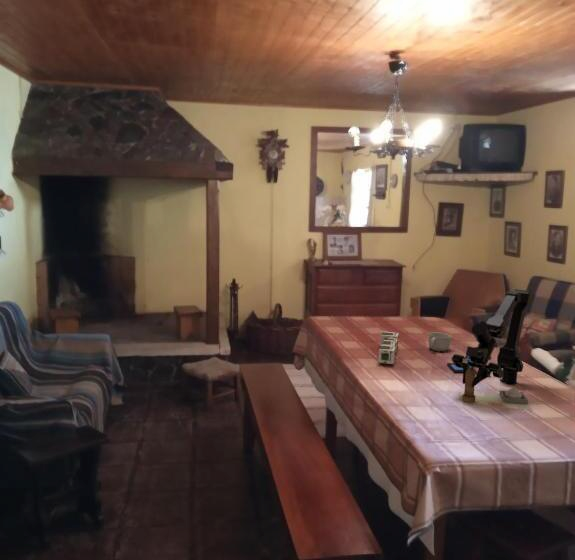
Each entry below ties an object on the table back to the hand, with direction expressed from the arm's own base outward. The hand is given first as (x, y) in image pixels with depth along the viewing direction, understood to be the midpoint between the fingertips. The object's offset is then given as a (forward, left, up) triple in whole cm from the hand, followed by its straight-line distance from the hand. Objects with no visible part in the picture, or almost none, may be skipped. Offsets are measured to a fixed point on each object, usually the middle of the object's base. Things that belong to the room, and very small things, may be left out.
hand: (467, 384), depth 208 cm
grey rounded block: (-72, -4, -8) cm, 73 cm away
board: (-4, +10, -8) cm, 14 cm away
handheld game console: (-43, +4, -8) cm, 44 cm away
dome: (-7, +18, -7) cm, 20 cm away
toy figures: (-58, -29, -8) cm, 66 cm away
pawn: (-1, +1, -6) cm, 7 cm away
